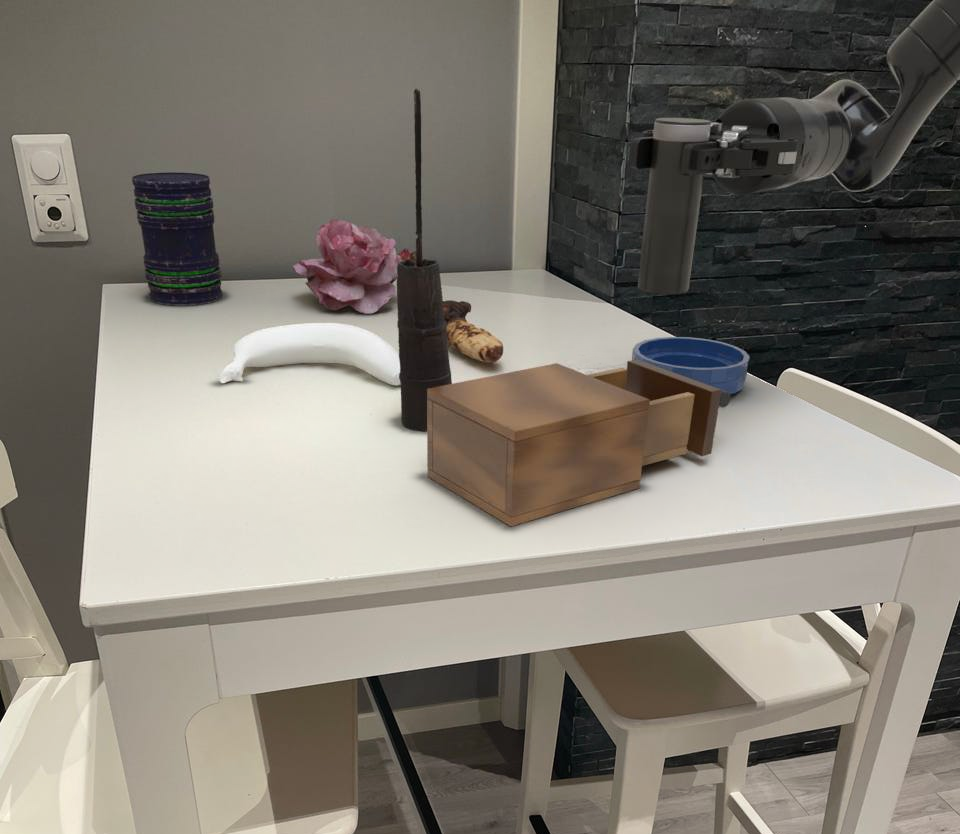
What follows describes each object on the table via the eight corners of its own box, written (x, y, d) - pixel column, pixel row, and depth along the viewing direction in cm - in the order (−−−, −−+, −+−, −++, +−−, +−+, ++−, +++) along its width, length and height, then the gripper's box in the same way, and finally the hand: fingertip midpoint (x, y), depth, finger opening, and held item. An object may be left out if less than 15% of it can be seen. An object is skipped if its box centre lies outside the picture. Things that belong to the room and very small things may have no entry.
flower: (270, 276, 132) (283, 203, 126) (360, 278, 141) (376, 210, 135) (325, 331, 125) (342, 256, 118) (416, 330, 134) (436, 260, 128)
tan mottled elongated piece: (391, 339, 119) (443, 379, 105) (389, 300, 116) (441, 335, 102) (462, 331, 122) (521, 368, 108) (461, 292, 119) (521, 325, 105)
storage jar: (195, 285, 139) (181, 170, 131) (238, 297, 133) (226, 178, 125) (134, 296, 132) (115, 176, 124) (176, 309, 127) (159, 184, 119)
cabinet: (551, 445, 89) (556, 362, 85) (639, 488, 81) (650, 399, 77) (427, 476, 82) (426, 388, 78) (510, 526, 74) (515, 431, 70)
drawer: (660, 412, 95) (668, 352, 92) (742, 444, 88) (753, 381, 85) (527, 445, 86) (530, 380, 83) (606, 484, 79) (613, 415, 76)
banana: (426, 375, 106) (346, 413, 95) (290, 355, 114) (202, 388, 103) (424, 329, 103) (342, 363, 92) (285, 312, 111) (194, 341, 100)
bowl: (767, 390, 104) (773, 357, 102) (688, 410, 98) (693, 376, 96) (684, 362, 113) (688, 331, 111) (606, 378, 106) (609, 346, 104)
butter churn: (389, 399, 99) (380, 82, 84) (481, 407, 97) (489, 86, 82) (364, 430, 91) (351, 87, 76) (464, 438, 90) (470, 91, 75)
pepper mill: (699, 290, 84) (723, 121, 77) (663, 296, 82) (683, 123, 75) (662, 280, 87) (682, 117, 80) (626, 286, 85) (643, 118, 78)
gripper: (707, 93, 90) (592, 97, 79) (852, 103, 82) (745, 109, 71) (696, 181, 94) (585, 197, 83) (832, 199, 86) (729, 219, 75)
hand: (660, 157), depth 77 cm, fingers closed on pepper mill, 4 cm apart
